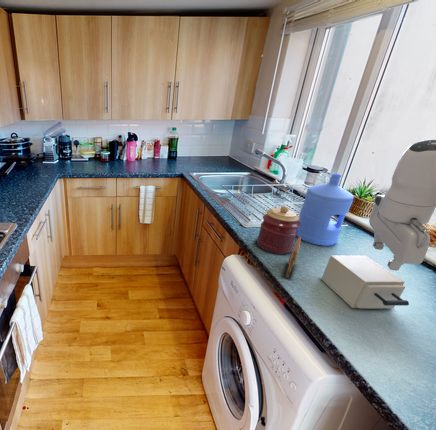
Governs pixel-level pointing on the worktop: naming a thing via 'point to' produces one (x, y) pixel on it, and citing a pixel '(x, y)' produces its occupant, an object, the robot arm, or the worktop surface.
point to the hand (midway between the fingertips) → (384, 257)
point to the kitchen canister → (278, 230)
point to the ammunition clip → (292, 259)
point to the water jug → (324, 212)
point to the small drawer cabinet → (355, 276)
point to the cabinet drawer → (382, 296)
